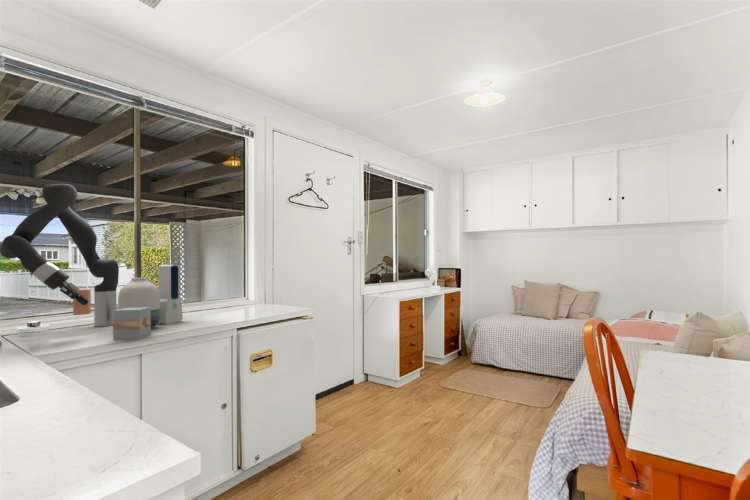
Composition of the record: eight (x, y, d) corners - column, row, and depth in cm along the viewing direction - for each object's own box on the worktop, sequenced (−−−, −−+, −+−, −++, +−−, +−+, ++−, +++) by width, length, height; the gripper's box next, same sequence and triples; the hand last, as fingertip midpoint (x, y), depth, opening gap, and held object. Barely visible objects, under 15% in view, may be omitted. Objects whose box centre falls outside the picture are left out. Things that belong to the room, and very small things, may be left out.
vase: (124, 327, 188) (124, 277, 189) (163, 324, 193) (163, 276, 194) (112, 333, 172) (112, 279, 173) (155, 330, 177) (155, 277, 178)
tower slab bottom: (126, 335, 167) (126, 326, 167) (150, 334, 168) (150, 325, 168) (113, 340, 157) (113, 330, 157) (139, 339, 158) (139, 329, 158)
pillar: (76, 313, 162) (76, 289, 162) (90, 312, 164) (90, 289, 164) (73, 315, 157) (73, 290, 158) (88, 314, 160) (88, 289, 160)
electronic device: (166, 324, 193) (165, 264, 194) (153, 324, 194) (152, 265, 195) (183, 321, 205) (182, 264, 206) (170, 320, 206) (170, 264, 207)
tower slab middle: (126, 326, 167) (126, 317, 167) (150, 325, 168) (150, 316, 168) (113, 330, 157) (113, 320, 157) (139, 329, 158) (139, 319, 158)
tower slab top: (126, 317, 167) (125, 307, 167) (150, 316, 168) (150, 306, 168) (113, 320, 157) (113, 310, 157) (139, 319, 158) (139, 309, 158)
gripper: (54, 269, 151) (92, 297, 157) (63, 268, 164) (98, 295, 169) (37, 283, 149) (76, 312, 154) (47, 281, 161) (83, 308, 167)
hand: (87, 303), depth 162 cm, fingers closed on pillar, 5 cm apart
